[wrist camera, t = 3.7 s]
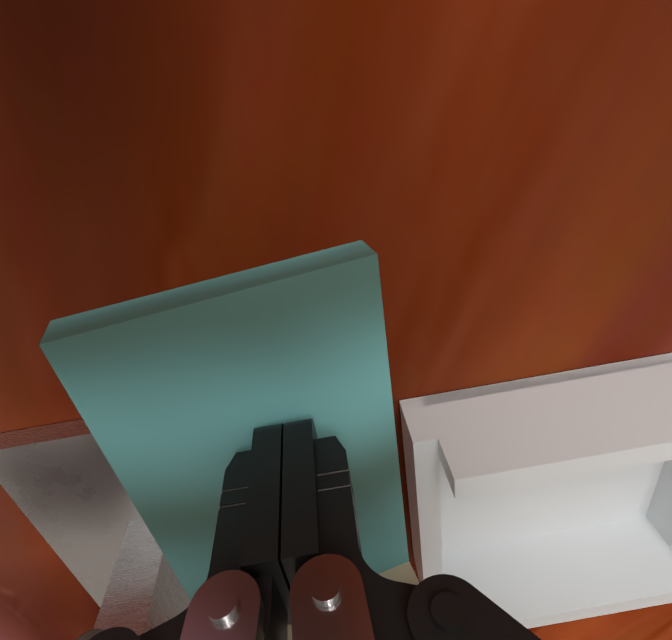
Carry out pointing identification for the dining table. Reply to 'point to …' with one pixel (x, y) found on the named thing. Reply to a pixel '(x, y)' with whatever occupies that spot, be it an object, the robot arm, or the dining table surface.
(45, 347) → the lever
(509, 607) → the tray
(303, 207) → the dining table surface
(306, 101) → the dining table surface
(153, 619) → the lever stand
